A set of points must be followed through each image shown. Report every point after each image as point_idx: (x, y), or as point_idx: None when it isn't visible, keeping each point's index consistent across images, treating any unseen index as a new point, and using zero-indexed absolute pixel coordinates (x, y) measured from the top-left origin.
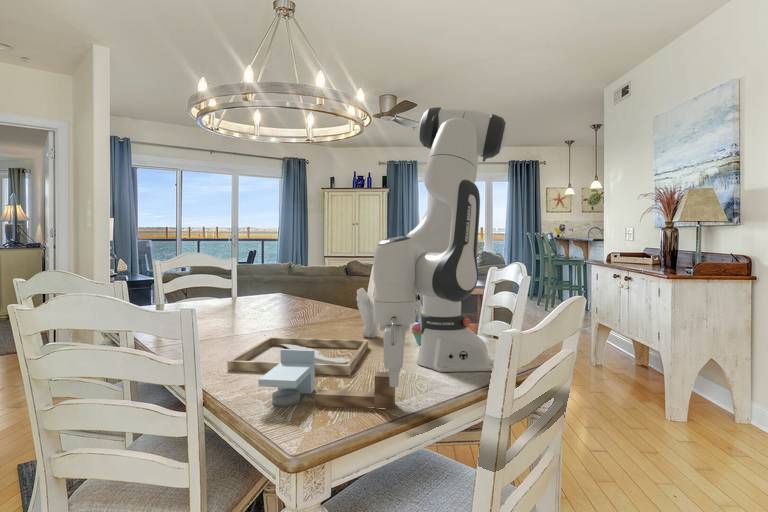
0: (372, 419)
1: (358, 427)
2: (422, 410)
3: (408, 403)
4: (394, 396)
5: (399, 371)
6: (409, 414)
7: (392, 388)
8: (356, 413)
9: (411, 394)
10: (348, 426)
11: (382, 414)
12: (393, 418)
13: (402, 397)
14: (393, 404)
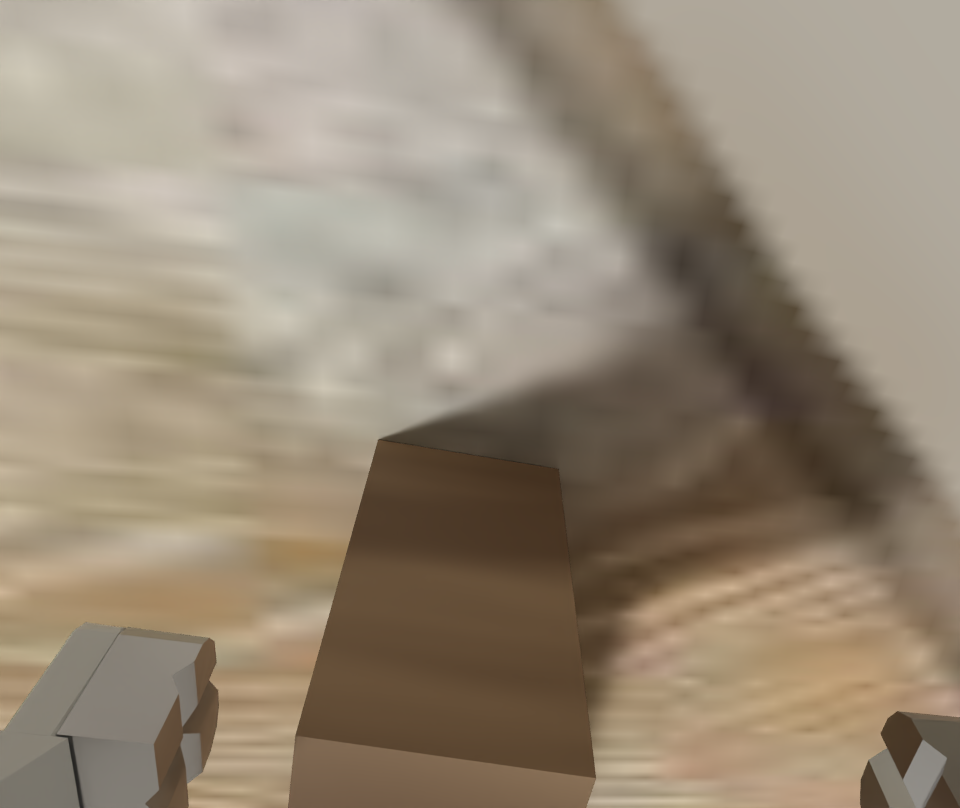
0: (772, 649)
1: None
2: (609, 138)
3: (362, 289)
4: (419, 504)
5: (200, 652)
6: (713, 314)
7: (576, 641)
8: (612, 753)
9: (27, 216)
10: None
11: (667, 569)
12: (790, 481)
13: (159, 341)
14: (535, 492)
